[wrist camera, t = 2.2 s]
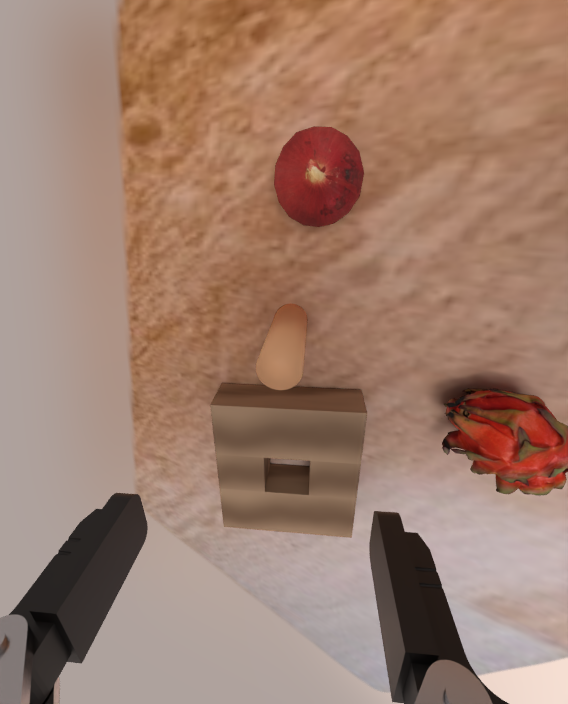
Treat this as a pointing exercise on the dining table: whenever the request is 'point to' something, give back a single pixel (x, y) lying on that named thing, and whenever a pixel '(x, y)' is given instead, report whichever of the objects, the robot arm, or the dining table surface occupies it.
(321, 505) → the hole block
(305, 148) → the onion
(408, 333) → the dining table surface
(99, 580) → the robot arm
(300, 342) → the peg
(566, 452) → the dragon fruit
